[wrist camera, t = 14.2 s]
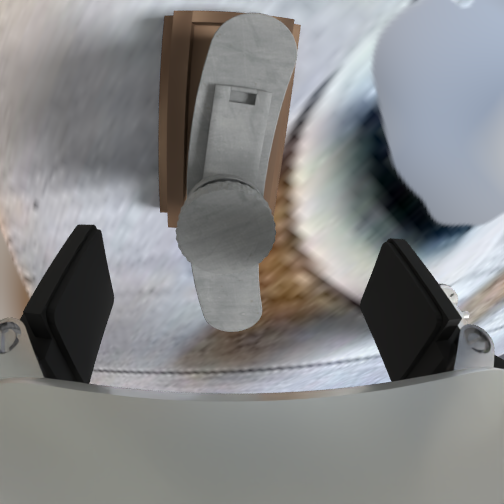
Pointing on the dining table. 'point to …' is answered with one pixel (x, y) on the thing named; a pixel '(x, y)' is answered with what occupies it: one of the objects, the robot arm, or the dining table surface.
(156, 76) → the dining table surface
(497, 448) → the robot arm
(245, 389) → the dining table surface
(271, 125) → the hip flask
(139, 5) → the dining table surface
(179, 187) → the walnut stand
